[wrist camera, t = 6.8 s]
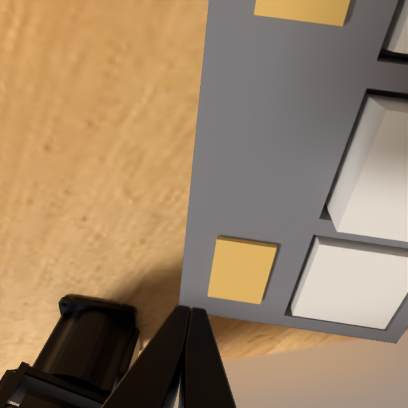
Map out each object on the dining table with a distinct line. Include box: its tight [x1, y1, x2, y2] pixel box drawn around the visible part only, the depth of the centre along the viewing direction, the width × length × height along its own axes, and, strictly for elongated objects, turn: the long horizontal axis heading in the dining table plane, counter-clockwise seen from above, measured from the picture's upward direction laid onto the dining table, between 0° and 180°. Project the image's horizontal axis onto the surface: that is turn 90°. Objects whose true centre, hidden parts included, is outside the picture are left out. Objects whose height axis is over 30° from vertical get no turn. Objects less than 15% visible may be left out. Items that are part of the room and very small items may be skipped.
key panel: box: [179, 0, 408, 343], centre depth 16 cm, size 23×14×4 cm, turn 174°
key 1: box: [290, 235, 408, 329], centre depth 20 cm, size 6×6×2 cm
